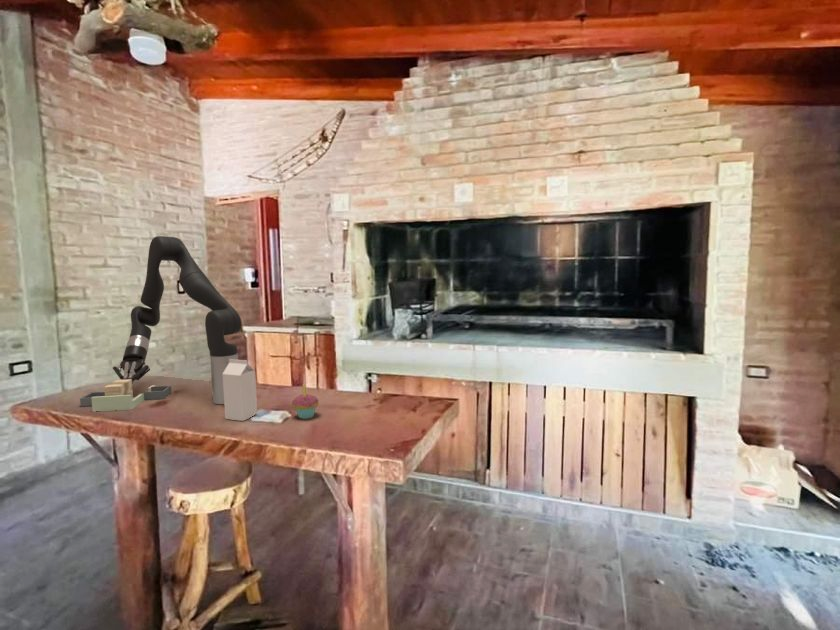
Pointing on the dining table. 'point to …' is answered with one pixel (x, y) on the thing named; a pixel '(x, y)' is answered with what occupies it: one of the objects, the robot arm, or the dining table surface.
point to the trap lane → (123, 399)
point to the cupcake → (305, 405)
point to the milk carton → (239, 390)
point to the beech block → (119, 388)
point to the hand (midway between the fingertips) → (126, 389)
